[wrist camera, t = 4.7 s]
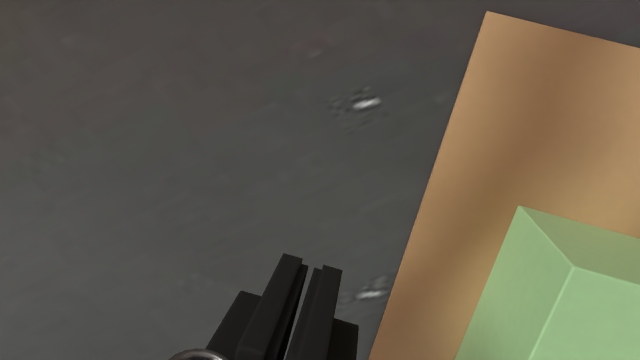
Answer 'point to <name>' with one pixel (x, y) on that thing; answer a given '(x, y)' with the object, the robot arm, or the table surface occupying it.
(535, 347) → the green block
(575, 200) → the plate
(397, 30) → the table surface
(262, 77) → the table surface
